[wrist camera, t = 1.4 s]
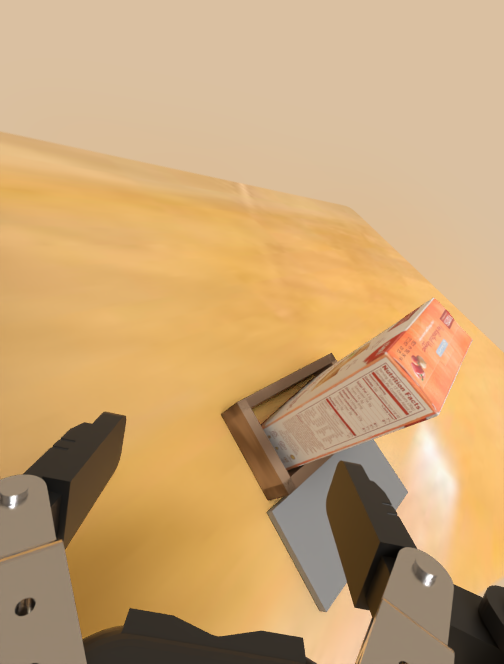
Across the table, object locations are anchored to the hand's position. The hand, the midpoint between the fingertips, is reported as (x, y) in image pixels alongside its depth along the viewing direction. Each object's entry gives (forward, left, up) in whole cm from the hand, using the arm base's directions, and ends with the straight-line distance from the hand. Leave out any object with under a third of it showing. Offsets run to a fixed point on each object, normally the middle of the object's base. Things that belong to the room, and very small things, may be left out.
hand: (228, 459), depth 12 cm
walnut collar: (+2, +23, -22) cm, 31 cm away
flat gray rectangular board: (+13, +23, -22) cm, 34 cm away
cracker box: (+2, +23, -22) cm, 32 cm away
